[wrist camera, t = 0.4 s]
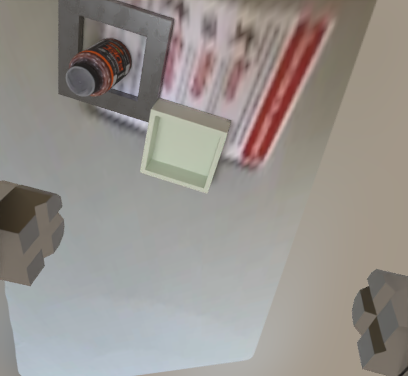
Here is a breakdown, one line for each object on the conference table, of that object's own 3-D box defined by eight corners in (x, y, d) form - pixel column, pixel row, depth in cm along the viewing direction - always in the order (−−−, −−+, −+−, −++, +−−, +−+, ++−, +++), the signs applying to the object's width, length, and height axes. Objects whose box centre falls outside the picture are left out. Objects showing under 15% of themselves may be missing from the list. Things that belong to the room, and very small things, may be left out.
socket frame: (64, -17, 49) (58, -16, 48) (174, 19, 49) (171, 21, 48) (63, 90, 59) (58, 93, 58) (155, 119, 59) (152, 123, 58)
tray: (159, 97, 56) (151, 109, 53) (231, 120, 57) (227, 133, 53) (147, 158, 64) (139, 172, 60) (211, 178, 64) (207, 193, 60)
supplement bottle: (140, 60, 54) (111, 85, 44) (117, 85, 57) (86, 113, 47) (110, 28, 52) (73, 48, 42) (87, 55, 55) (49, 80, 46)
